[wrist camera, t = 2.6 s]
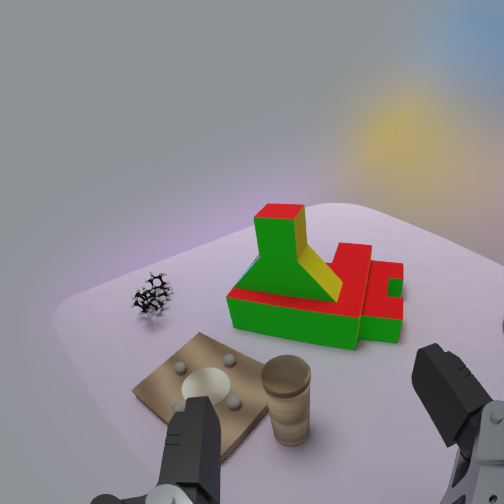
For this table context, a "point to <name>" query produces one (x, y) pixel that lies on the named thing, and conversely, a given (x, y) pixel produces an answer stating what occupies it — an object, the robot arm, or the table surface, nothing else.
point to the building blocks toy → (315, 287)
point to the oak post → (288, 398)
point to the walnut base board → (209, 387)
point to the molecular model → (148, 299)
